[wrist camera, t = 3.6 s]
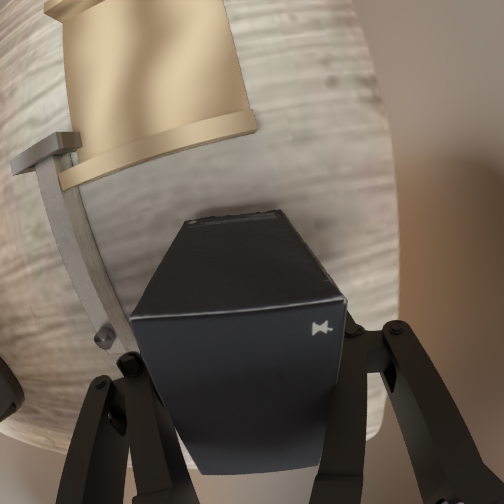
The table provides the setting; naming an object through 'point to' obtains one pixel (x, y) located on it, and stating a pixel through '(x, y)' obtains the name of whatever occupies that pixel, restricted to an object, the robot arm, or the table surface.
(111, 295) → the lock bolt
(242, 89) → the cradle
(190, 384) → the small box
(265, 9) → the table surface
